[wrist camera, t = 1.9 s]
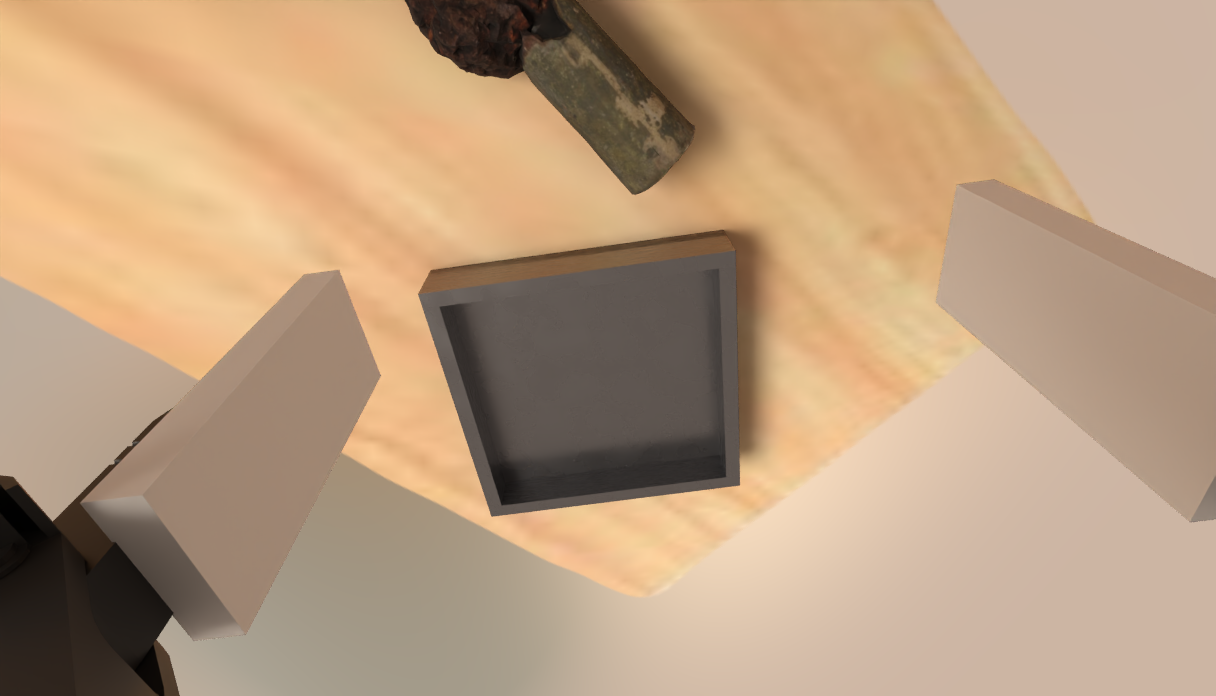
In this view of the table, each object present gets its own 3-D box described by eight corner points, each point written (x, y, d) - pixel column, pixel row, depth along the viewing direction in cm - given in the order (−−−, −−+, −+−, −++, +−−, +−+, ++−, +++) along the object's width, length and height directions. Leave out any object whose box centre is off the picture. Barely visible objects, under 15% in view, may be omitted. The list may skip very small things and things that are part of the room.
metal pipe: (690, 124, 34) (709, 141, 29) (605, 205, 36) (608, 235, 31) (443, -170, 27) (412, -211, 22) (357, -48, 29) (311, -62, 24)
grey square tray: (430, 270, 38) (418, 294, 35) (723, 229, 38) (735, 250, 35) (497, 483, 48) (491, 516, 45) (729, 454, 47) (739, 485, 44)
